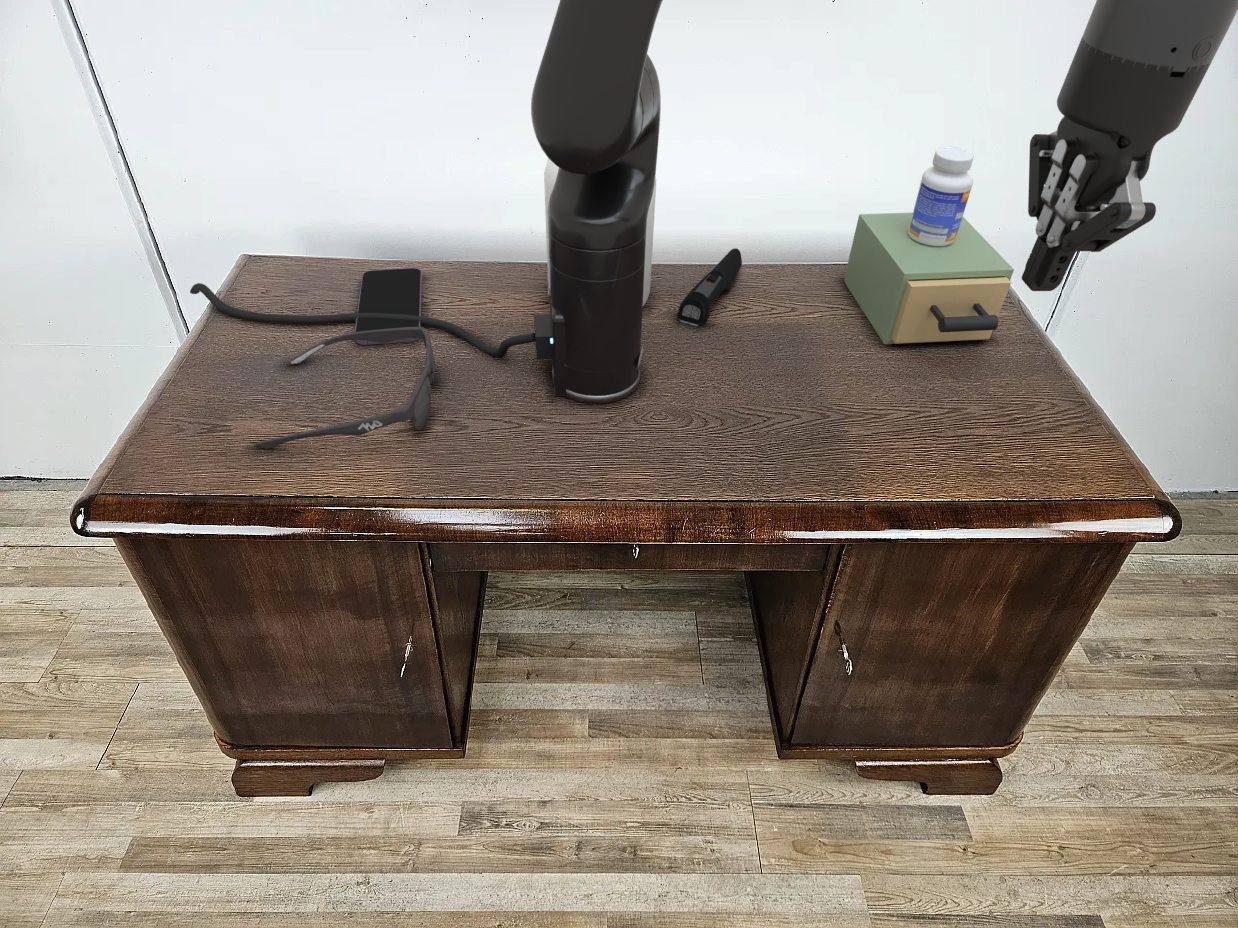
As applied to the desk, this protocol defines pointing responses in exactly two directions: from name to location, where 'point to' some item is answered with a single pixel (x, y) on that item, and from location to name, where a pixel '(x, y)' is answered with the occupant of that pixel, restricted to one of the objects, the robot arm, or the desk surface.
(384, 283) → the smartphone
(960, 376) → the desk surface
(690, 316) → the electric trimmer
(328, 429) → the sunglasses
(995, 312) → the drawer
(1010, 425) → the desk surface
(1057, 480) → the desk surface
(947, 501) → the desk surface
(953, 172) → the pill bottle
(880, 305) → the cabinet
